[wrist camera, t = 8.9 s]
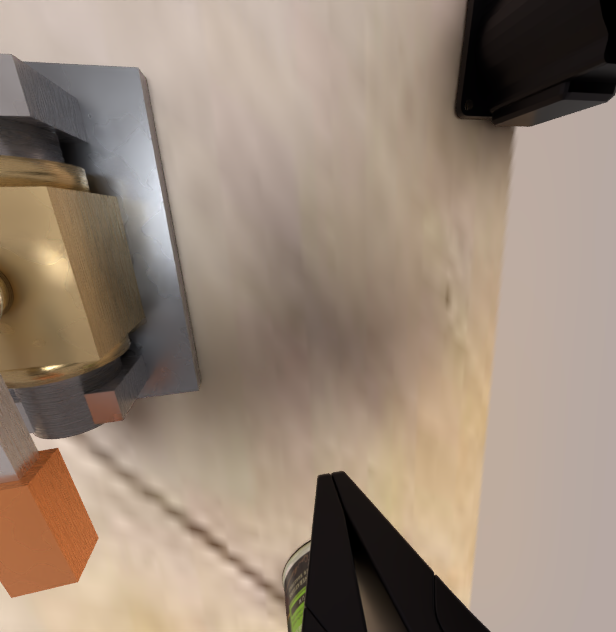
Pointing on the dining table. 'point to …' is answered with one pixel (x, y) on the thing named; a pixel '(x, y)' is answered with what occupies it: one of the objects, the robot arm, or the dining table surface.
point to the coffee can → (296, 587)
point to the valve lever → (37, 511)
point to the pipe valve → (86, 249)
